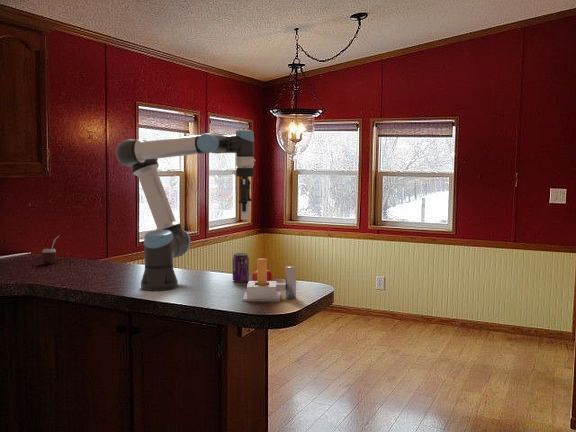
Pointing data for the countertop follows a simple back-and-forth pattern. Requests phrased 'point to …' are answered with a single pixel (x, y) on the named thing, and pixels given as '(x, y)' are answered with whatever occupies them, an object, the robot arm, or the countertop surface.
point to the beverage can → (240, 267)
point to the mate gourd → (49, 255)
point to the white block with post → (272, 288)
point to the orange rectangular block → (261, 271)
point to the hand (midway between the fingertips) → (245, 218)
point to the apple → (269, 275)
